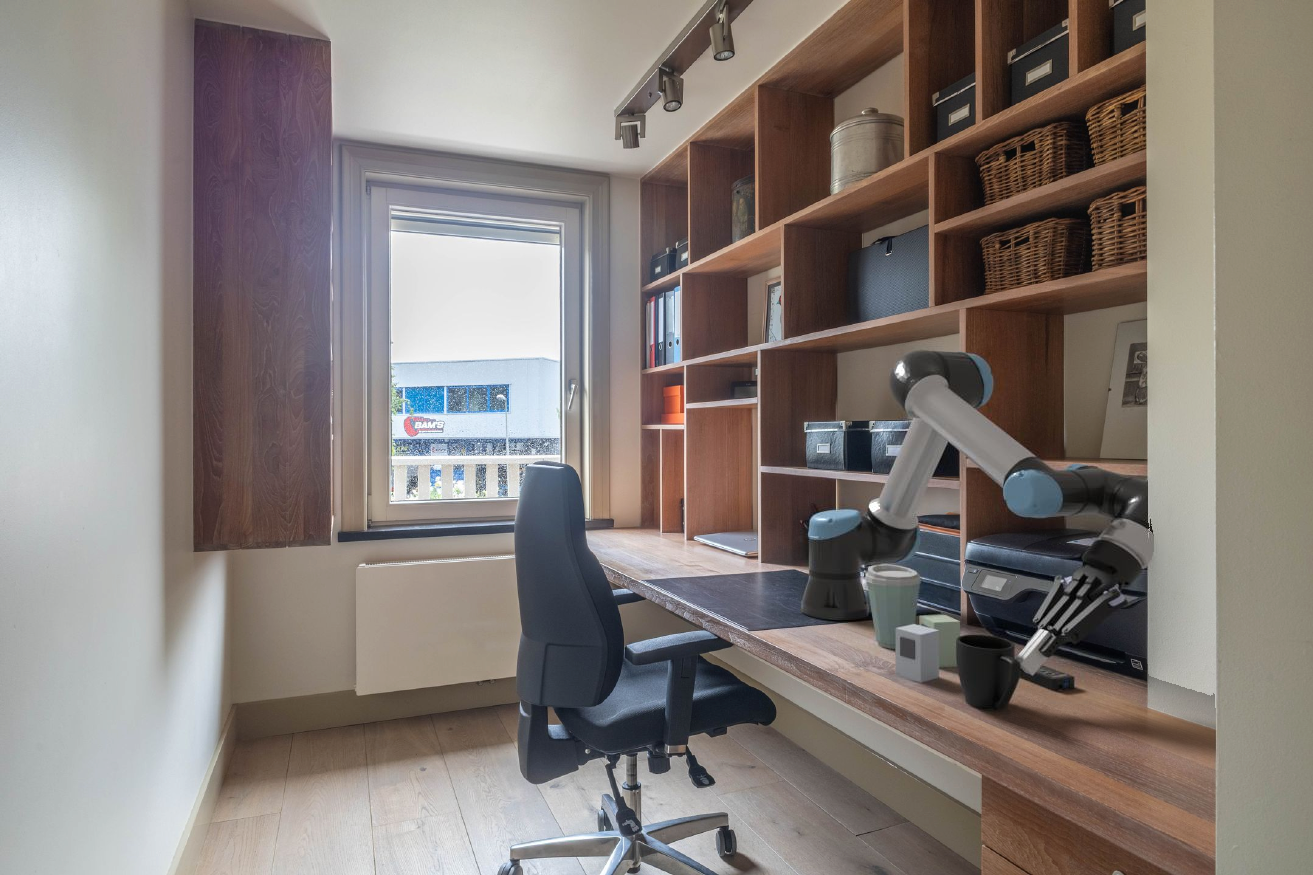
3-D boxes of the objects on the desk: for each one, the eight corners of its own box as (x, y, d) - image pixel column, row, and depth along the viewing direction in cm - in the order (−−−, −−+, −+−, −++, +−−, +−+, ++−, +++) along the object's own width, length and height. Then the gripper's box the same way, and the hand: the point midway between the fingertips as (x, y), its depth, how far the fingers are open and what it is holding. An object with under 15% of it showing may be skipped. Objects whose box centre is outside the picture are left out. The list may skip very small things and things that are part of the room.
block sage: (918, 659, 134) (918, 615, 134) (944, 657, 135) (944, 614, 135) (932, 667, 129) (932, 622, 129) (959, 666, 130) (960, 621, 130)
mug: (987, 725, 104) (987, 658, 104) (946, 694, 116) (946, 634, 116) (1042, 722, 104) (1042, 656, 104) (995, 692, 116) (995, 633, 116)
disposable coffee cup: (934, 648, 141) (934, 570, 141) (892, 656, 136) (892, 575, 136) (893, 635, 150) (893, 562, 150) (852, 641, 145) (852, 566, 145)
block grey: (894, 674, 125) (894, 628, 125) (914, 669, 128) (914, 623, 128) (919, 683, 121) (919, 634, 121) (939, 677, 124) (939, 630, 124)
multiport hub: (1022, 670, 129) (1022, 657, 129) (1075, 690, 118) (1076, 676, 118) (1002, 672, 127) (1002, 659, 127) (1054, 693, 117) (1055, 679, 117)
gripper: (1073, 532, 120) (980, 639, 117) (1139, 543, 107) (1036, 664, 104) (1102, 564, 120) (1011, 671, 118) (1171, 578, 107) (1070, 699, 104)
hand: (1023, 667), depth 111 cm, fingers closed
